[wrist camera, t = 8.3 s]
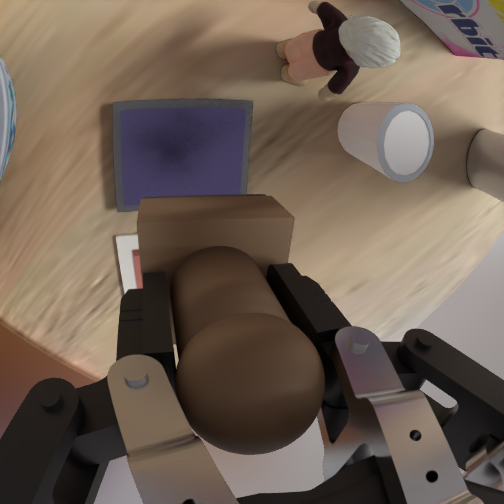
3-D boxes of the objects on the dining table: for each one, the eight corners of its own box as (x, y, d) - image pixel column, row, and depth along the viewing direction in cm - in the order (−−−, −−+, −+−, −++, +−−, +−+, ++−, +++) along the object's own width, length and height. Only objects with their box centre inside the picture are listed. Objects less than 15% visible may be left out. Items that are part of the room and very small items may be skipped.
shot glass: (345, 174, 29) (389, 197, 23) (321, 111, 25) (367, 120, 20) (393, 146, 29) (440, 163, 23) (375, 87, 25) (425, 92, 20)
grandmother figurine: (323, 90, 24) (427, 100, 14) (286, 101, 24) (380, 113, 14) (298, 14, 20) (393, -23, 10) (258, 22, 20) (338, -25, 9)
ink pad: (249, 100, 23) (255, 101, 22) (242, 201, 28) (247, 207, 26) (114, 102, 20) (111, 102, 19) (118, 208, 24) (116, 214, 23)
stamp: (267, 192, 12) (414, 341, 5) (255, 293, 15) (340, 457, 7) (141, 194, 11) (125, 394, 4) (149, 302, 13) (169, 494, 6)
